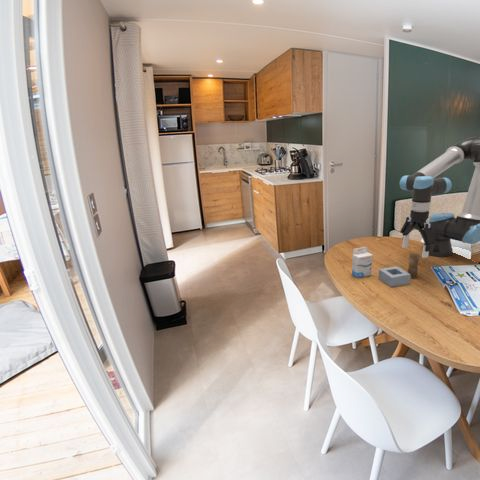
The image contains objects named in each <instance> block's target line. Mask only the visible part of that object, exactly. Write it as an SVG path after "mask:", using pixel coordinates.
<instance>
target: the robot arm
mask: <svg viewBox="0 0 480 480" xmlns="http://www.w3.org/2000/svg"><path fill="white" fill-rule="evenodd" d="M463 161H473V163H472V164H473V166H474V167H475V168H474V171H473V175H472V177H471V181H470V183H469V187H468V191H467V193H466V197H465V201H464V203H463V207H462V210H461V212H460V213H458V214H457V215H456V217H455V214H454V213H453V212H452V213H451V212H439V213H437V212H436V213H433V214H431V215H430V211H429V210H431V209H430V208H431V202H432V197H433V196H438V195H444V194H446V193H448V192H449V191H451V190H452V186H453V185H452V181H451V180H450V179H449V178H448V177H438V176H439V175H441V174H442V173H443V172H445V171H447V170H448V169H449V168H451V167H452V166H454V165H455V164H460V163H462V162H463ZM399 188H400V189H401V190H403V191H407V192H412V198H411V206H410V209H411V210H410V213H409V216H407V217H406V219H405V221H404V223H403V225H402V228H401V229H400V231H399V232H400V234H402V246H401V247H402V249H406V248H407V249H408V248H409V242H410V233H411V232H412V231H413V230H414V229H415V230H417V231H418V232H419V233H420V235H421V237H422V240H423V245H422V247H421V258H423V259H424V258H429V256H432V257H439V258H440V257H443V258H445V257H449V256H452V255H453V252H454V251H453V246H452V242H451V240H453V241H458V242H461V243H463V244H470V245H475V244H477V243H479V242H480V136H471V137H468V138H464V139H463V140H460V141H458V142H456V143H454V144H452V145H451V146H450V147H448V148H447V149H446V150H445V152H444V153H442V154H441V155H439V156H438V157H437V158H435V159H433V160H432V161H431V162H429V163H428V164H427V165H425V166H423V167H422V168H421V169H419V170H417V171H416V172H415V173H413V174H411V175H410V174H408V175H403V176H402V177H401V178H400V180H399ZM429 215H430V216H429ZM428 219H429V220H428ZM427 220H428V222H427Z"/></svg>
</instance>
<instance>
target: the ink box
mask: <svg viewBox="0 0 480 480" xmlns="http://www.w3.org/2000/svg"><path fill="white" fill-rule="evenodd" d="M373 257H374V255H373V254H372V253H370V252H368V246H362V247H357V248H356V247H355V248H353V250H352V266H351V275H352V276H353V277H355V278H357V279H358V278H363V277H369V276H372V269H373Z"/></svg>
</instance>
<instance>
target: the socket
mask: <svg viewBox="0 0 480 480" xmlns="http://www.w3.org/2000/svg"><path fill="white" fill-rule="evenodd" d="M410 276H411V274H409V273H408V271H406V270H404V269H403V268H401V267H399V266H396V265H395V266H390V267H384V268H379V269H378V279H379V280H380V281H382V282H383V283H384V284H386V285H387V286H389V287H390V288H392V287H393V288H394V287H400V286H404V285H409V284H410V283H411V278H410Z"/></svg>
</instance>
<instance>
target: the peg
mask: <svg viewBox="0 0 480 480" xmlns="http://www.w3.org/2000/svg"><path fill="white" fill-rule="evenodd" d="M419 260H420V254H419V253H413V252H412V253H410V254H409V260H408V261H409V262H408V269H407V273H409V274H411V276H410V279H417V277H418V269H419Z"/></svg>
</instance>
